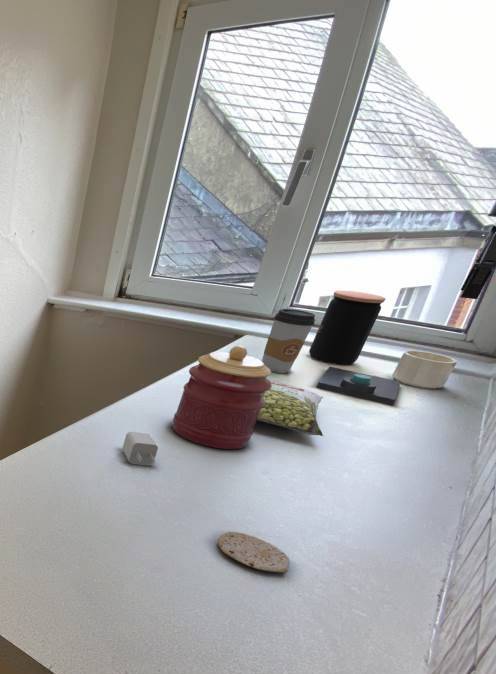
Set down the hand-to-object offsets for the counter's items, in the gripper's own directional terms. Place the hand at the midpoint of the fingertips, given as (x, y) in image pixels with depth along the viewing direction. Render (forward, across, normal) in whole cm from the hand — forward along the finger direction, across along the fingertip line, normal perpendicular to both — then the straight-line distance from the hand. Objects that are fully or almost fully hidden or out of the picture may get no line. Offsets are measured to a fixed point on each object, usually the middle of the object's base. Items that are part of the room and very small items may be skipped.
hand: (468, 294), depth 132 cm
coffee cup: (+22, +25, -28) cm, 43 cm away
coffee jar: (+22, +1, -19) cm, 29 cm away
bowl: (+22, +7, -1) cm, 23 cm away
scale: (+22, +24, -11) cm, 34 cm away
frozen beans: (+22, +63, -24) cm, 71 cm away
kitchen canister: (+22, +84, -28) cm, 91 cm away
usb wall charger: (+22, +106, -33) cm, 113 cm away
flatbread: (+22, +121, -13) cm, 123 cm away
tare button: (+19, +30, -11) cm, 37 cm away
